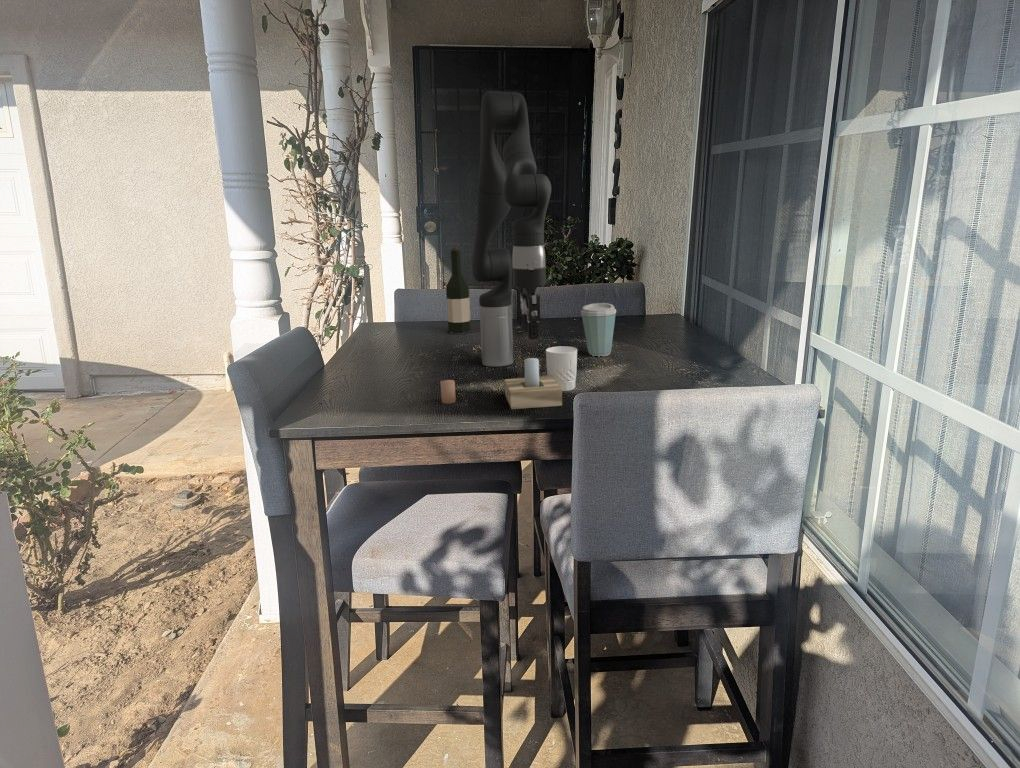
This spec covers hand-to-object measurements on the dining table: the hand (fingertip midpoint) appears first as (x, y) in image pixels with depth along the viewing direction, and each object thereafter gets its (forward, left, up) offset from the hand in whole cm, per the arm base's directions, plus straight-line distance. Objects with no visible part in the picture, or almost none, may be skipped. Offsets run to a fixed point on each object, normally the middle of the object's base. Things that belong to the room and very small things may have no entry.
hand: (530, 334), depth 167 cm
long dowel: (0, 0, -16) cm, 16 cm away
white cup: (-9, +9, -16) cm, 21 cm away
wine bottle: (-92, -12, -16) cm, 94 cm away
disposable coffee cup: (-43, +27, -16) cm, 53 cm away
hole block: (0, 0, -16) cm, 16 cm away
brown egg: (-4, -20, -16) cm, 26 cm away
